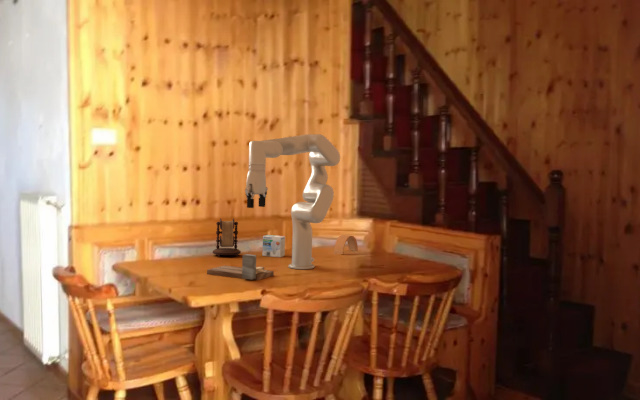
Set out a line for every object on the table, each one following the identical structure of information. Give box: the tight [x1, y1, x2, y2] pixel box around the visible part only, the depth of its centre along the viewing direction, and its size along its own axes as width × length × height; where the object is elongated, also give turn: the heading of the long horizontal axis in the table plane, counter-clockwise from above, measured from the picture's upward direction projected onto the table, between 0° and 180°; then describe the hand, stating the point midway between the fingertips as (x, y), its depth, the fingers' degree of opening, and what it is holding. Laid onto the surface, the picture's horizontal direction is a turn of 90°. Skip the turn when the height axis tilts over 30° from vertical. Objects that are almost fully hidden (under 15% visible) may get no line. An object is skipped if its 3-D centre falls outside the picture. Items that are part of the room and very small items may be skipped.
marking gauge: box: [241, 253, 265, 280], centre depth 289 cm, size 12×5×10 cm, turn 154°
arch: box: [333, 234, 359, 255], centre depth 378 cm, size 6×20×10 cm, turn 151°
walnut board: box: [206, 265, 275, 281], centre depth 297 cm, size 14×26×2 cm, turn 64°
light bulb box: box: [262, 234, 286, 258], centre depth 357 cm, size 11×7×11 cm, turn 73°
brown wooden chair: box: [212, 217, 242, 258], centre depth 352 cm, size 15×15×20 cm
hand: (256, 207), depth 297 cm, fingers open, 9 cm apart
